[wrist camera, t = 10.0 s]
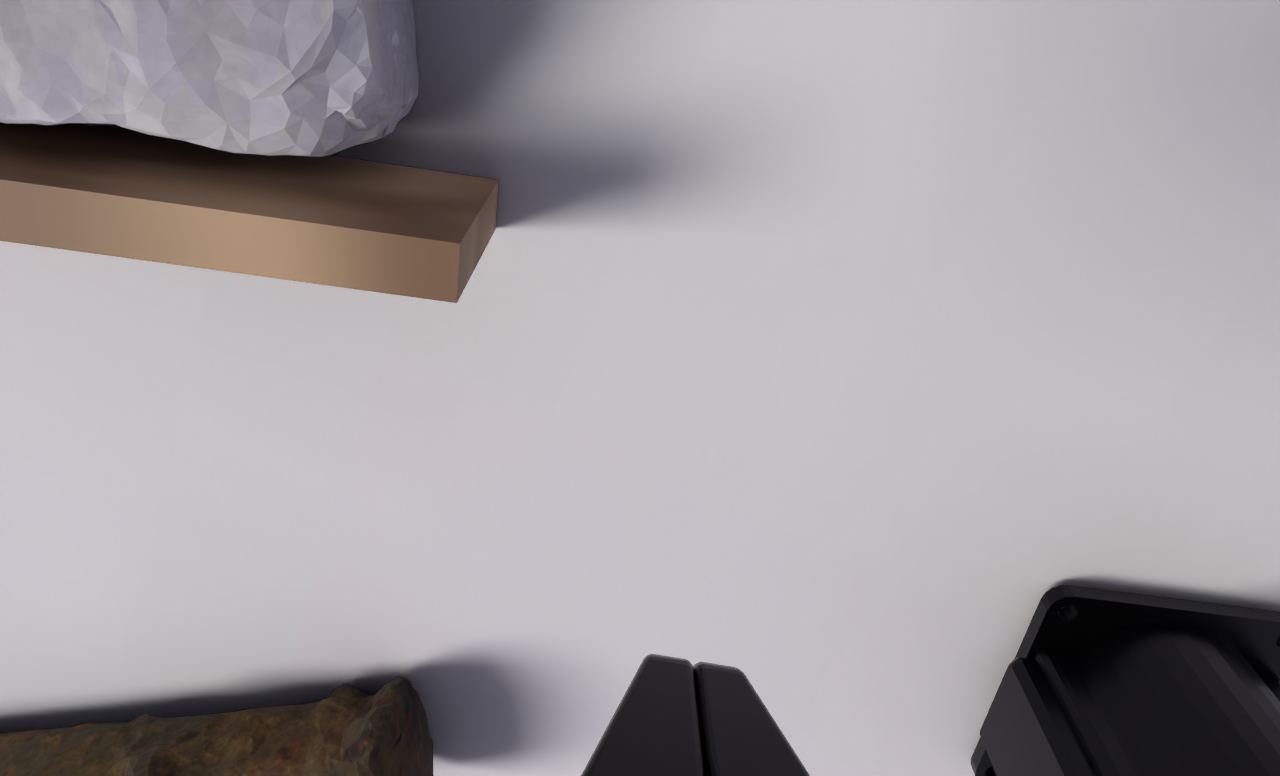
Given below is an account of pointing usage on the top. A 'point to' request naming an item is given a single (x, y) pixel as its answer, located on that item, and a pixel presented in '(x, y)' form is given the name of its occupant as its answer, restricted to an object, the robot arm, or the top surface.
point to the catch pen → (244, 209)
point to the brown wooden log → (242, 741)
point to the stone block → (214, 69)
